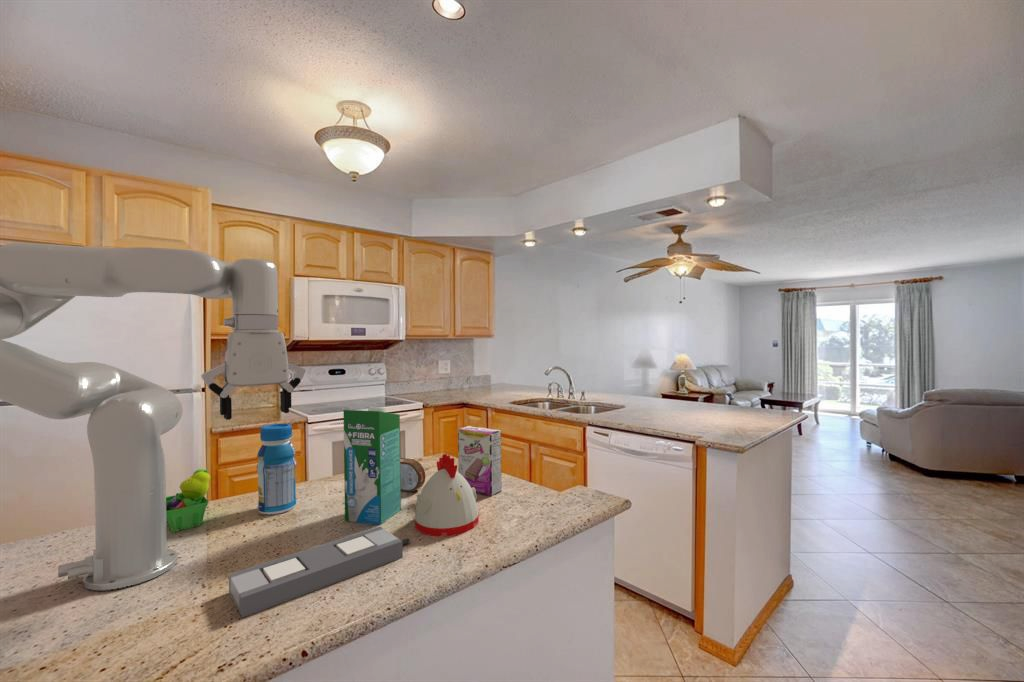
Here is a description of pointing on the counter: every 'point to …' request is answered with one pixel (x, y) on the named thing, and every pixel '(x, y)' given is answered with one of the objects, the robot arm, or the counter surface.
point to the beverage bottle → (276, 470)
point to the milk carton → (371, 465)
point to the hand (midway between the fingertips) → (257, 415)
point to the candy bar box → (480, 458)
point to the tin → (411, 475)
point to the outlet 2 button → (354, 546)
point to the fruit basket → (188, 502)
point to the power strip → (311, 571)
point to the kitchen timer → (446, 502)
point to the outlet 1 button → (282, 570)
